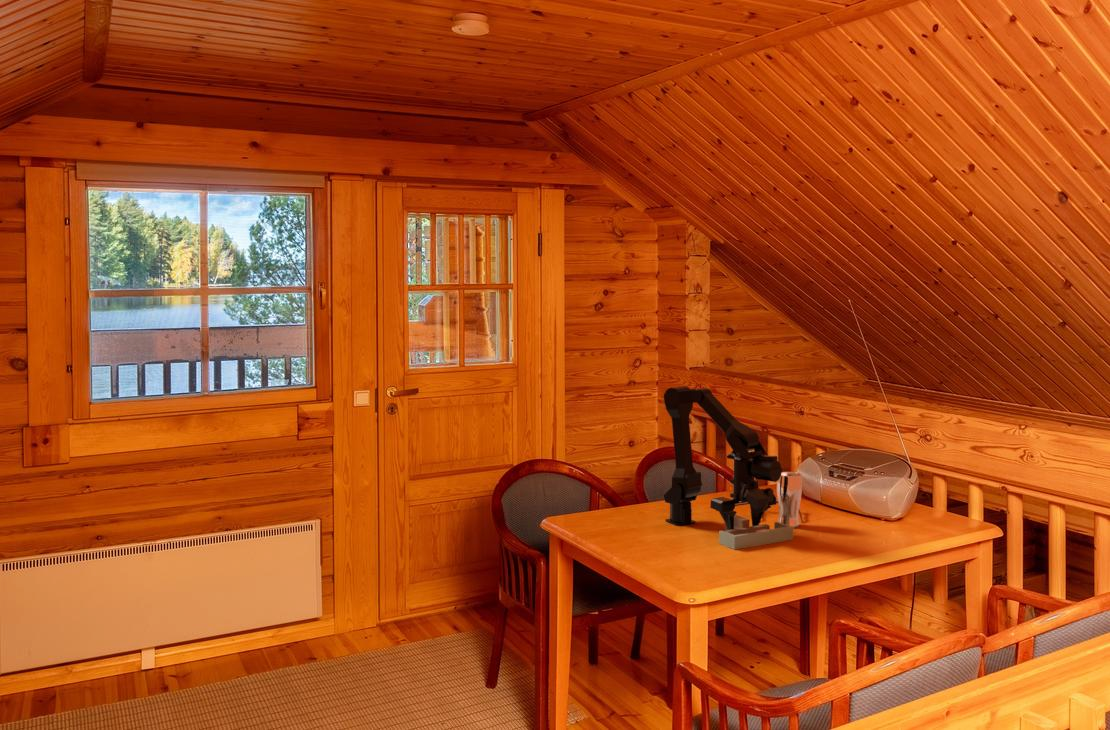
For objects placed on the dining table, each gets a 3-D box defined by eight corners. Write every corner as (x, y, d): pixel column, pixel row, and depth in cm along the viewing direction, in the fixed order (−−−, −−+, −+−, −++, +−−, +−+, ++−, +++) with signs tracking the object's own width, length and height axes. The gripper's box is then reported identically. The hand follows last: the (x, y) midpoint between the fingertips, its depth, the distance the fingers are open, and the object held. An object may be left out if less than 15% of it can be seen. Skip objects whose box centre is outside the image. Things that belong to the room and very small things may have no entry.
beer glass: (801, 529, 281) (802, 477, 279) (776, 528, 282) (777, 476, 281) (800, 523, 287) (801, 472, 286) (775, 521, 289) (776, 471, 287)
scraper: (707, 534, 276) (708, 517, 275) (747, 528, 282) (747, 511, 282) (728, 542, 267) (729, 524, 267) (769, 536, 274) (769, 518, 274)
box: (719, 543, 266) (719, 530, 266) (777, 534, 276) (777, 521, 275) (734, 549, 261) (734, 536, 260) (793, 539, 270) (793, 526, 270)
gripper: (735, 485, 260) (734, 543, 262) (790, 478, 269) (789, 534, 270) (709, 477, 270) (708, 533, 271) (763, 470, 278) (762, 525, 280)
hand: (743, 532), depth 273 cm, fingers open, 8 cm apart
